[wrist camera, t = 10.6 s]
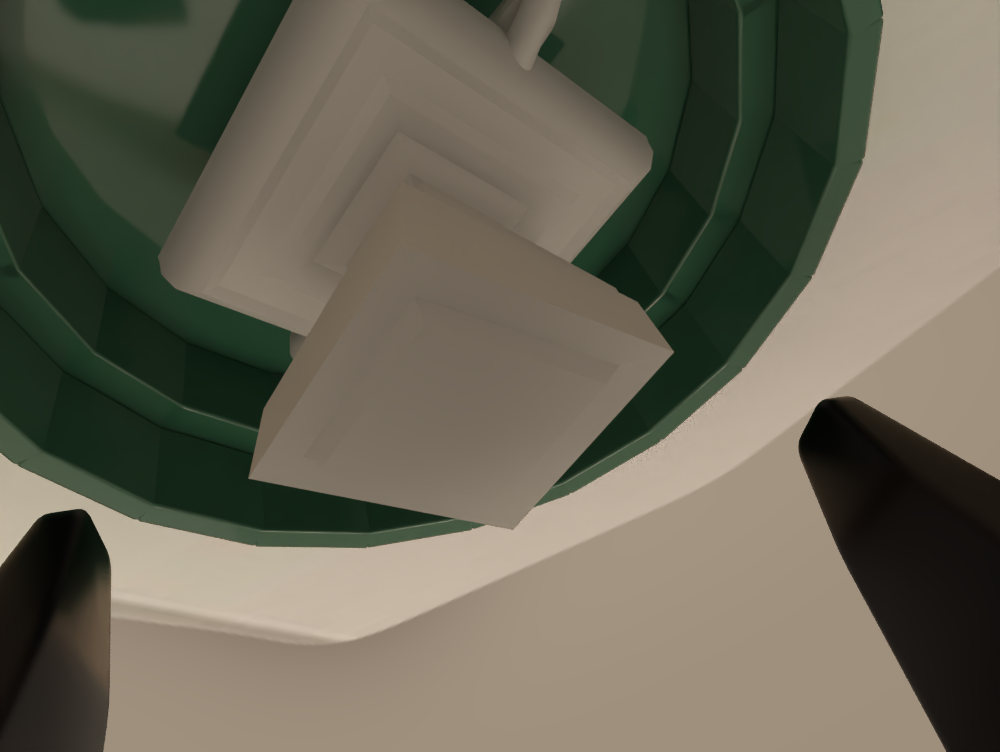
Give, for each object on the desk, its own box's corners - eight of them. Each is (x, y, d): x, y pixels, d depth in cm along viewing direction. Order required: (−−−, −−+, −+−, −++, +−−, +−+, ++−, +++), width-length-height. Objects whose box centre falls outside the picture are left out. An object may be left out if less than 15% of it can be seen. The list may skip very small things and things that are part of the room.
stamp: (409, 339, 19) (486, 636, 13) (143, 236, 16) (88, 585, 10) (641, 33, 15) (895, 264, 9) (358, -204, 12) (487, -64, 6)
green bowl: (853, -365, 12) (1099, -375, 9) (649, 363, 23) (722, 488, 20) (-354, -524, 9) (-759, -649, 5) (81, 435, 20) (48, 603, 16)
